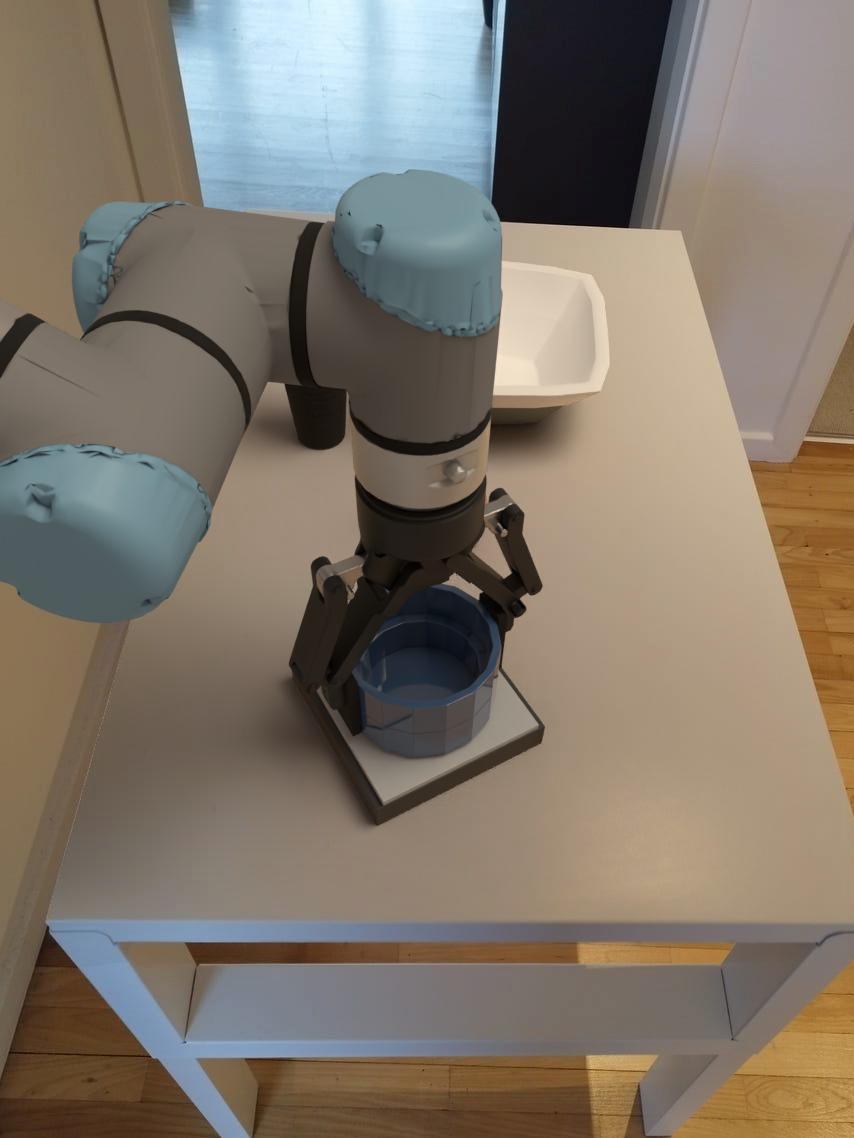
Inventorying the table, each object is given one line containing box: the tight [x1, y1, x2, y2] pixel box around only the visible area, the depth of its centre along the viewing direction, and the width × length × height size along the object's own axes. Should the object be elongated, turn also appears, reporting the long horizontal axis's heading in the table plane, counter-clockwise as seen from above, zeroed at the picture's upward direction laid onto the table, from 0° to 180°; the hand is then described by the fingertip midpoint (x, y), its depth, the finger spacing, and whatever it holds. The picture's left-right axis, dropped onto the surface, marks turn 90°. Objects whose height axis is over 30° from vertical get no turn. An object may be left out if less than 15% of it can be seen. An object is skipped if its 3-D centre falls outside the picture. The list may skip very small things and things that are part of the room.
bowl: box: [491, 260, 611, 425], centre depth 94 cm, size 22×23×8 cm
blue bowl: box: [352, 583, 502, 757], centre depth 67 cm, size 11×11×7 cm
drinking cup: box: [283, 383, 348, 450], centre depth 84 cm, size 8×8×20 cm
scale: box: [291, 667, 546, 826], centre depth 71 cm, size 15×14×3 cm
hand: (420, 688), depth 69 cm, fingers closed on blue bowl, 11 cm apart
